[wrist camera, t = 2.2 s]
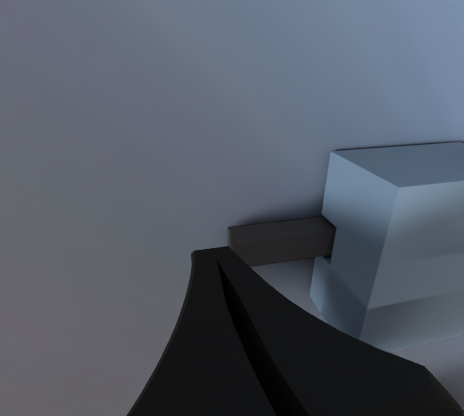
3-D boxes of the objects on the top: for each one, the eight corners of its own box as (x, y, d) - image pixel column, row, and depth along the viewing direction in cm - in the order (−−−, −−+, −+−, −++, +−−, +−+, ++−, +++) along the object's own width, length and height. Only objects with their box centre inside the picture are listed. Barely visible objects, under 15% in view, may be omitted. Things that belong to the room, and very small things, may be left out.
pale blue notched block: (413, 276, 16) (479, 332, 13) (309, 295, 15) (353, 361, 12) (459, 142, 13) (562, 170, 10) (330, 151, 12) (398, 187, 8)
